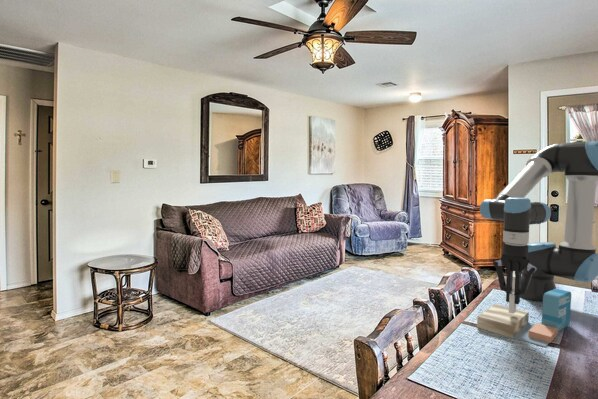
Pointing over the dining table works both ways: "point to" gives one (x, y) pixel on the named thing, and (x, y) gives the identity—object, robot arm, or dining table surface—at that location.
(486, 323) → the plate
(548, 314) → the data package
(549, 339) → the salmon orange flat block
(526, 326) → the mat
